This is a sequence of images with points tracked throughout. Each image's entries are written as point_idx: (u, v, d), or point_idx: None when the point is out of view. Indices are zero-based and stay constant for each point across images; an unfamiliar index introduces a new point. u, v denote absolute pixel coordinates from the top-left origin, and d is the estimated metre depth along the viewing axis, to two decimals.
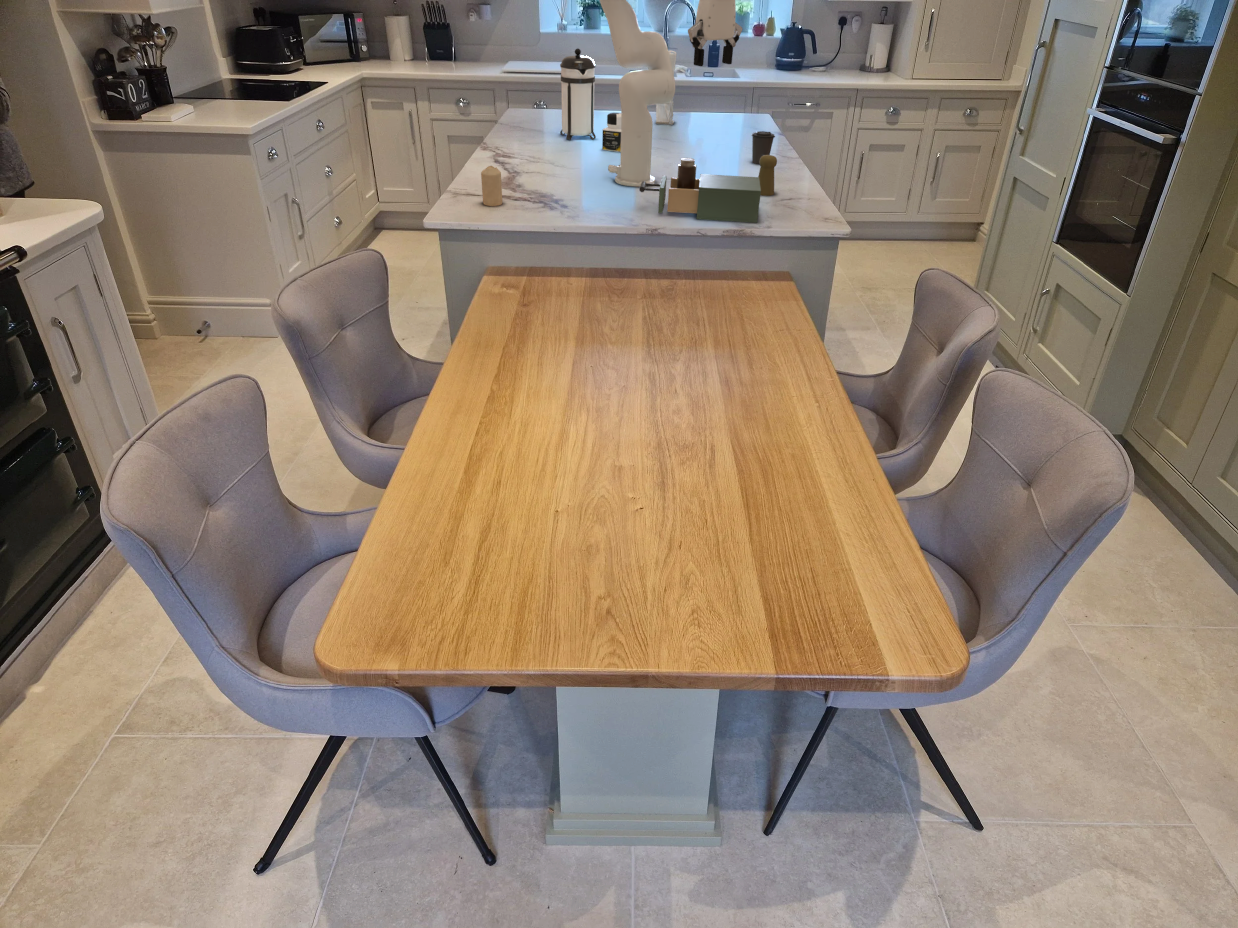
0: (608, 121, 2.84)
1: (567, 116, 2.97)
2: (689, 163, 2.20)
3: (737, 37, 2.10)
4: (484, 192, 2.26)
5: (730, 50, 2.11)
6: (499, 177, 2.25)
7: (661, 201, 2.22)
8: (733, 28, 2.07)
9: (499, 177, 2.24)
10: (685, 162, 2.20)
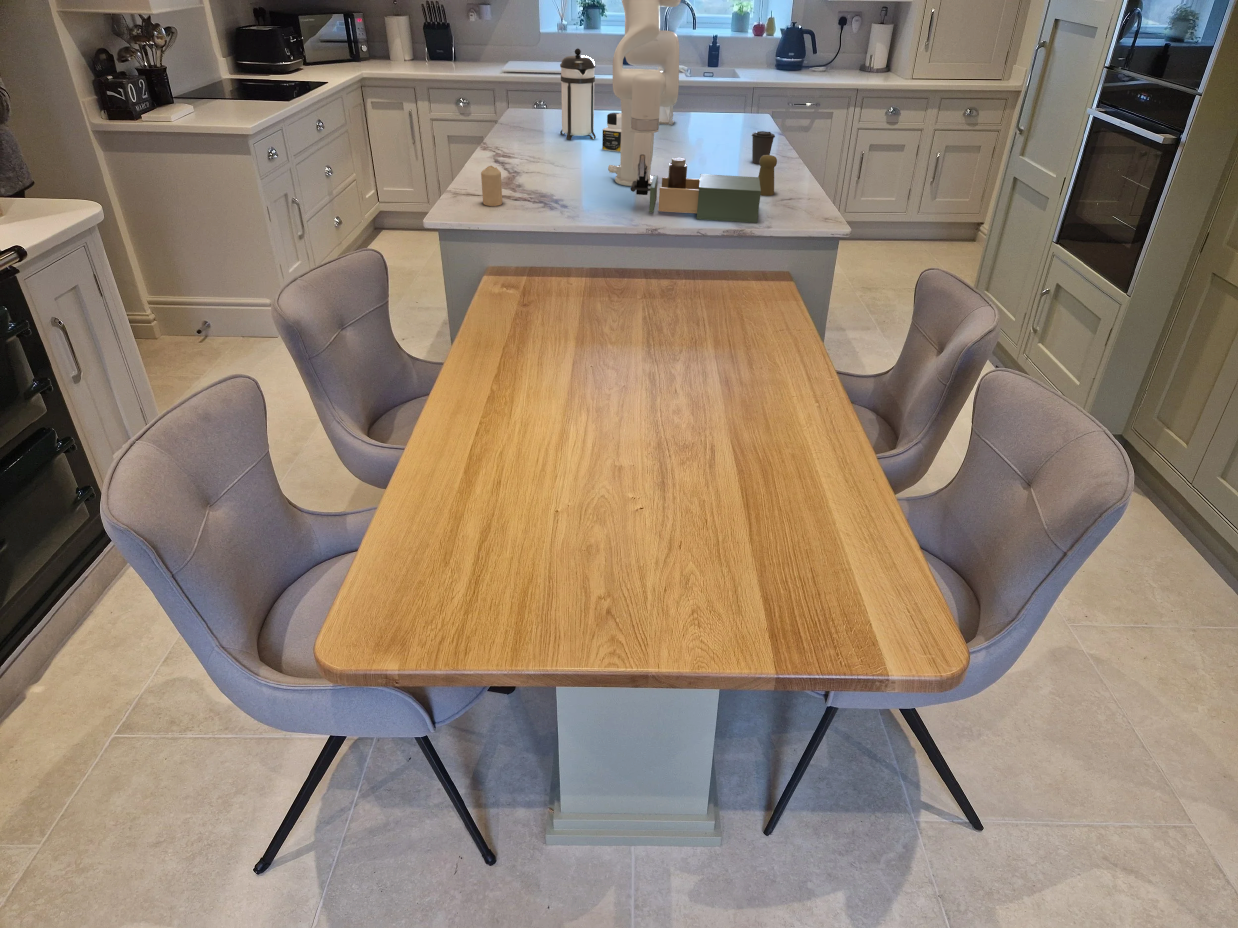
0: (608, 121, 2.84)
1: (567, 116, 2.97)
2: (680, 163, 2.20)
3: None
4: (484, 192, 2.26)
5: None
6: (499, 177, 2.25)
7: (652, 200, 2.22)
8: None
9: (499, 177, 2.24)
10: (676, 161, 2.20)
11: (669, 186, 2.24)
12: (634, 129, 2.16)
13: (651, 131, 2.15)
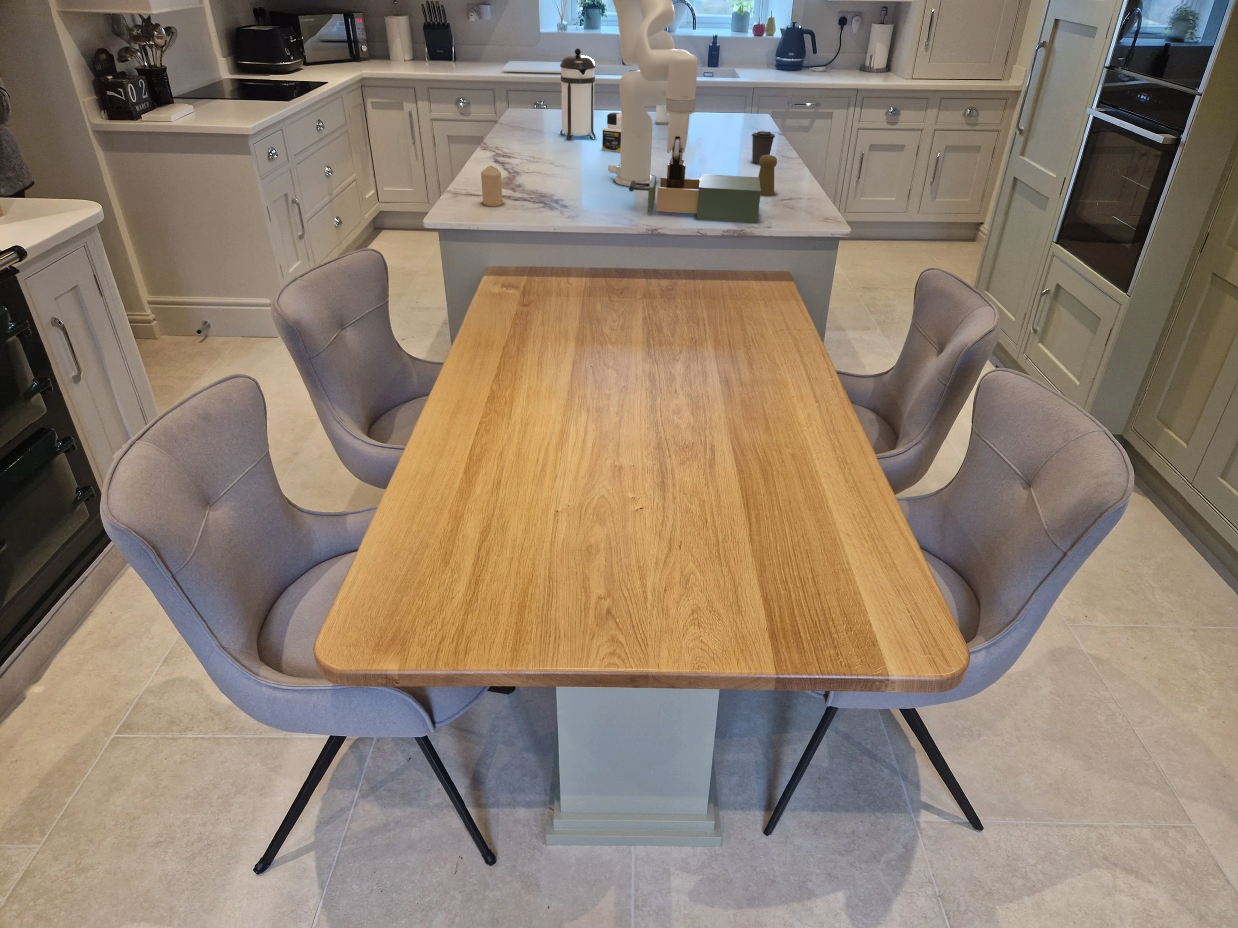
0: (608, 121, 2.84)
1: (567, 116, 2.97)
2: None
3: None
4: (484, 192, 2.26)
5: None
6: (499, 177, 2.25)
7: (650, 200, 2.22)
8: None
9: (499, 177, 2.24)
10: None
11: (667, 186, 2.24)
12: (669, 110, 2.13)
13: (687, 112, 2.12)
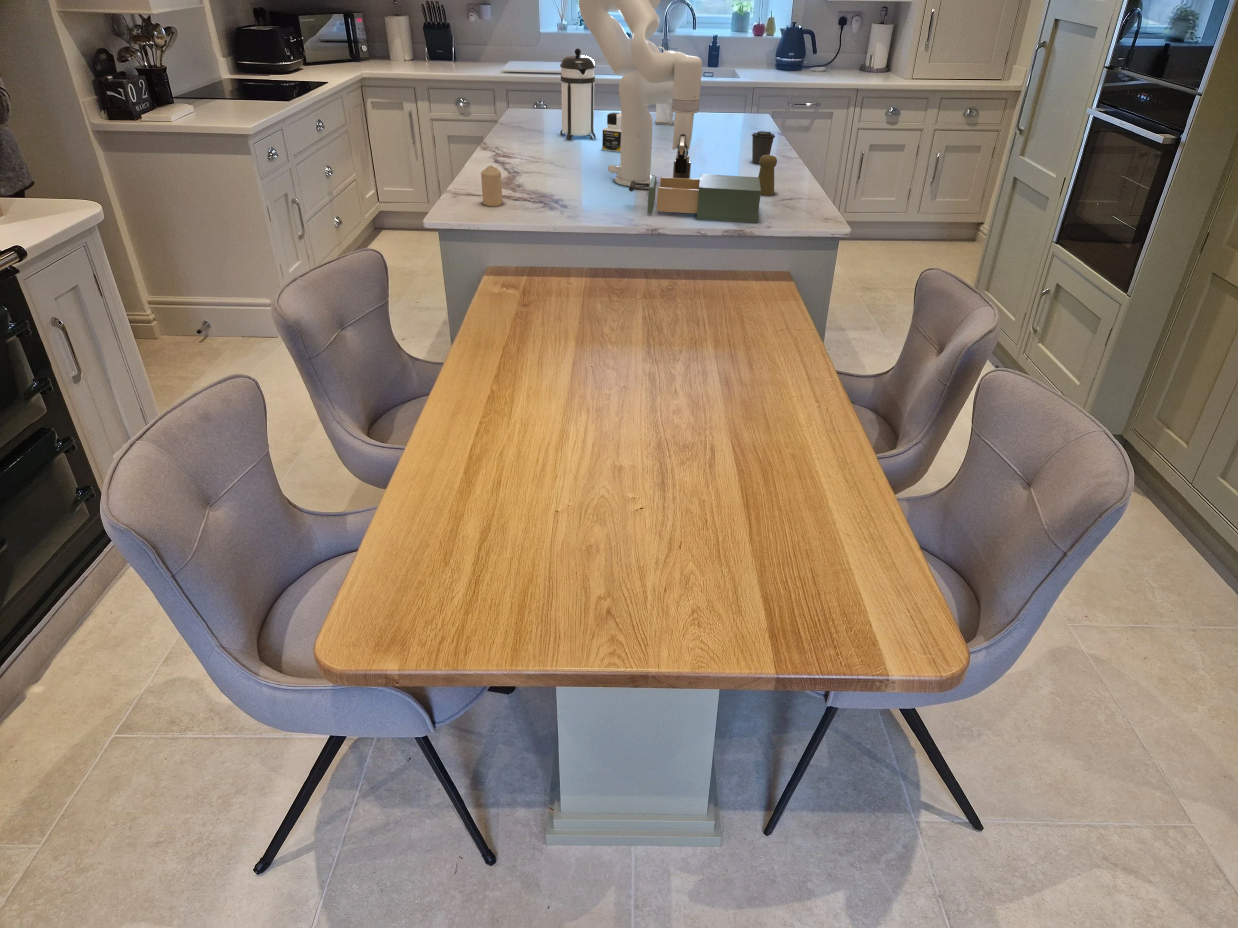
0: (608, 121, 2.84)
1: (567, 116, 2.97)
2: None
3: None
4: (484, 192, 2.26)
5: (687, 153, 2.37)
6: (499, 177, 2.25)
7: (650, 200, 2.22)
8: None
9: (499, 177, 2.24)
10: None
11: None
12: (675, 110, 2.24)
13: (692, 112, 2.24)
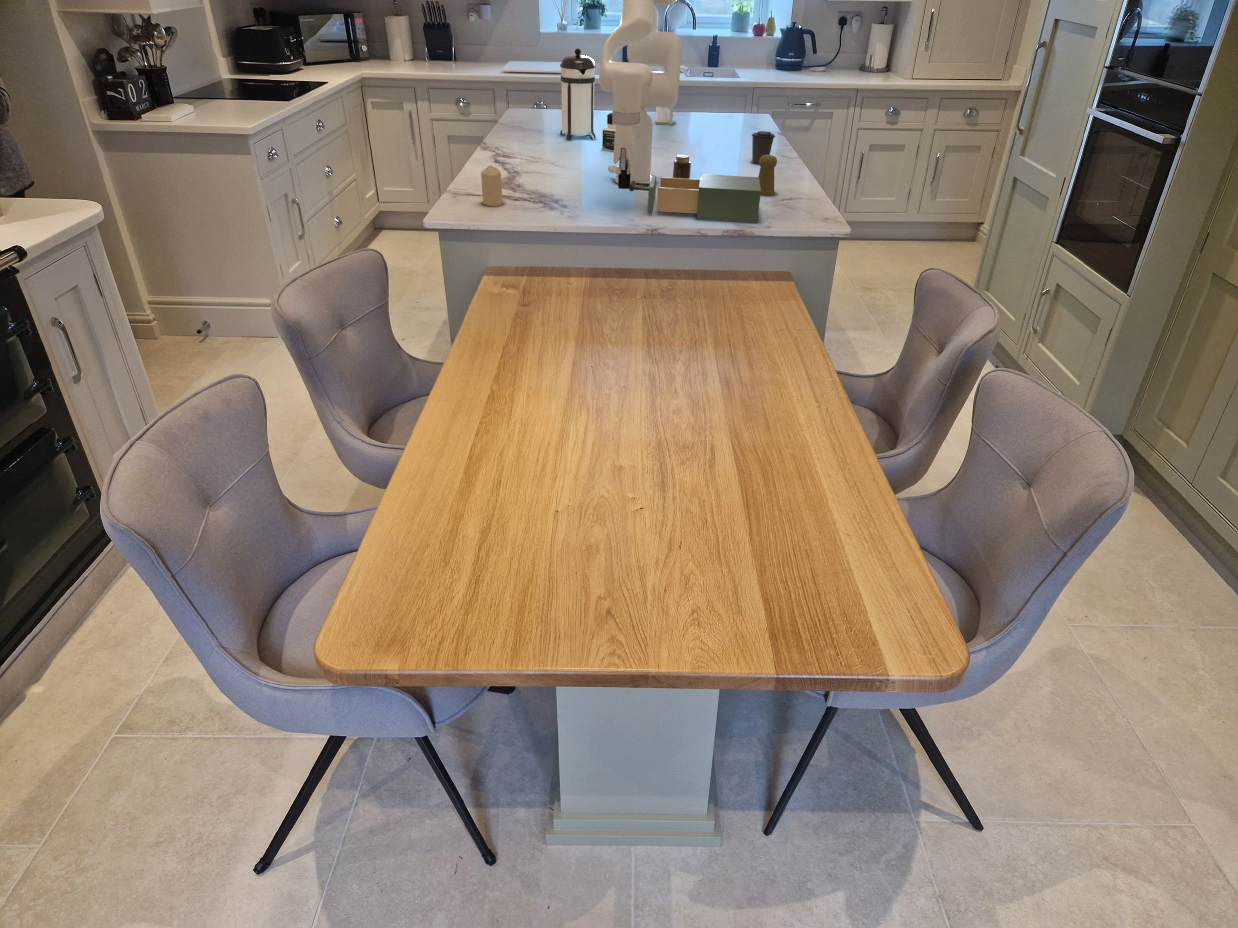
0: (608, 121, 2.84)
1: (567, 116, 2.97)
2: (684, 160, 2.32)
3: None
4: (484, 192, 2.26)
5: None
6: (499, 177, 2.25)
7: (650, 200, 2.22)
8: None
9: (499, 177, 2.24)
10: (680, 158, 2.32)
11: None
12: (615, 122, 2.16)
13: (632, 124, 2.15)
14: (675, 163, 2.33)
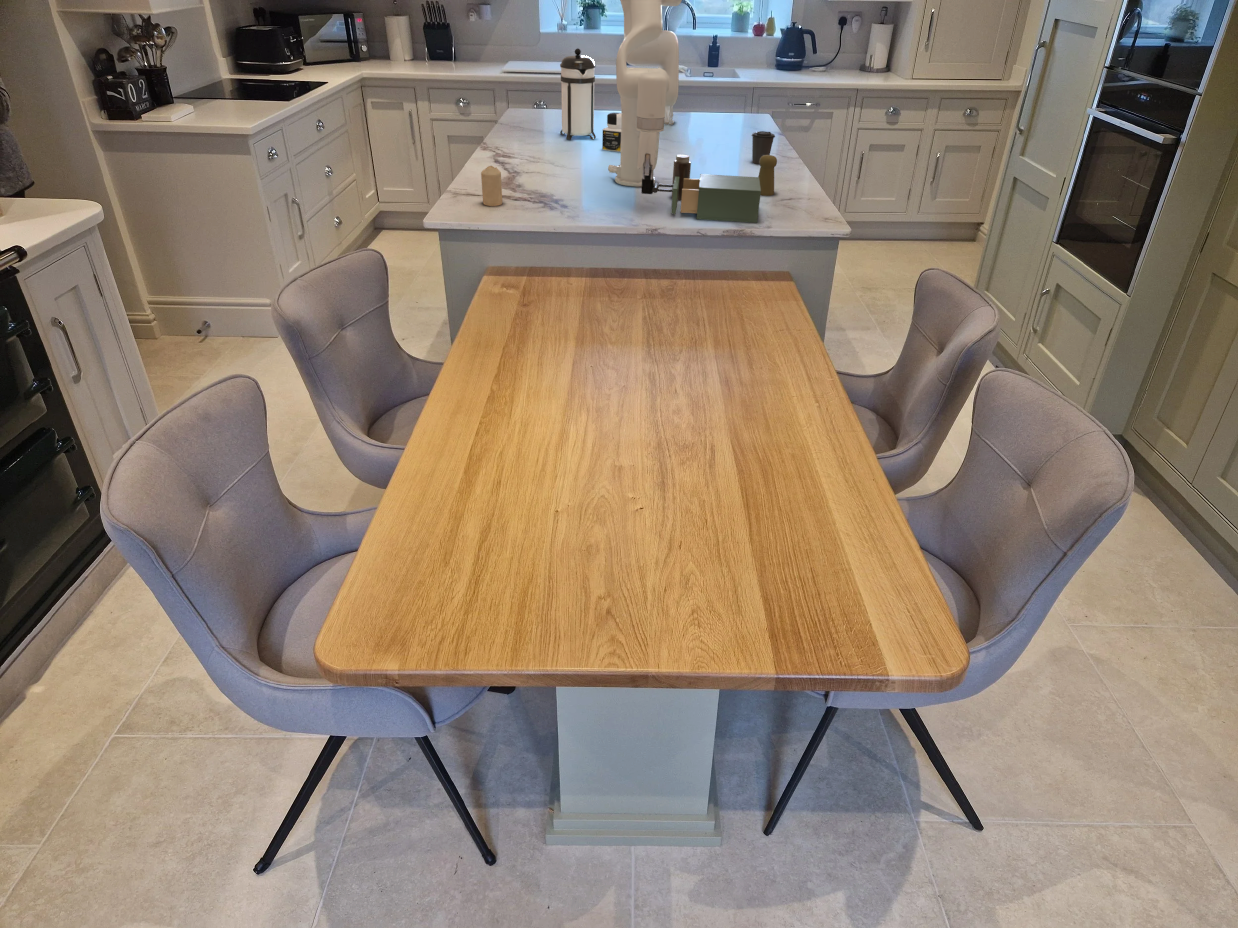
0: (608, 121, 2.84)
1: (567, 116, 2.97)
2: (684, 160, 2.32)
3: None
4: (484, 192, 2.26)
5: None
6: (499, 177, 2.25)
7: (674, 202, 2.21)
8: None
9: (499, 177, 2.24)
10: (680, 158, 2.32)
11: None
12: (639, 128, 2.16)
13: (656, 130, 2.15)
14: (675, 163, 2.33)
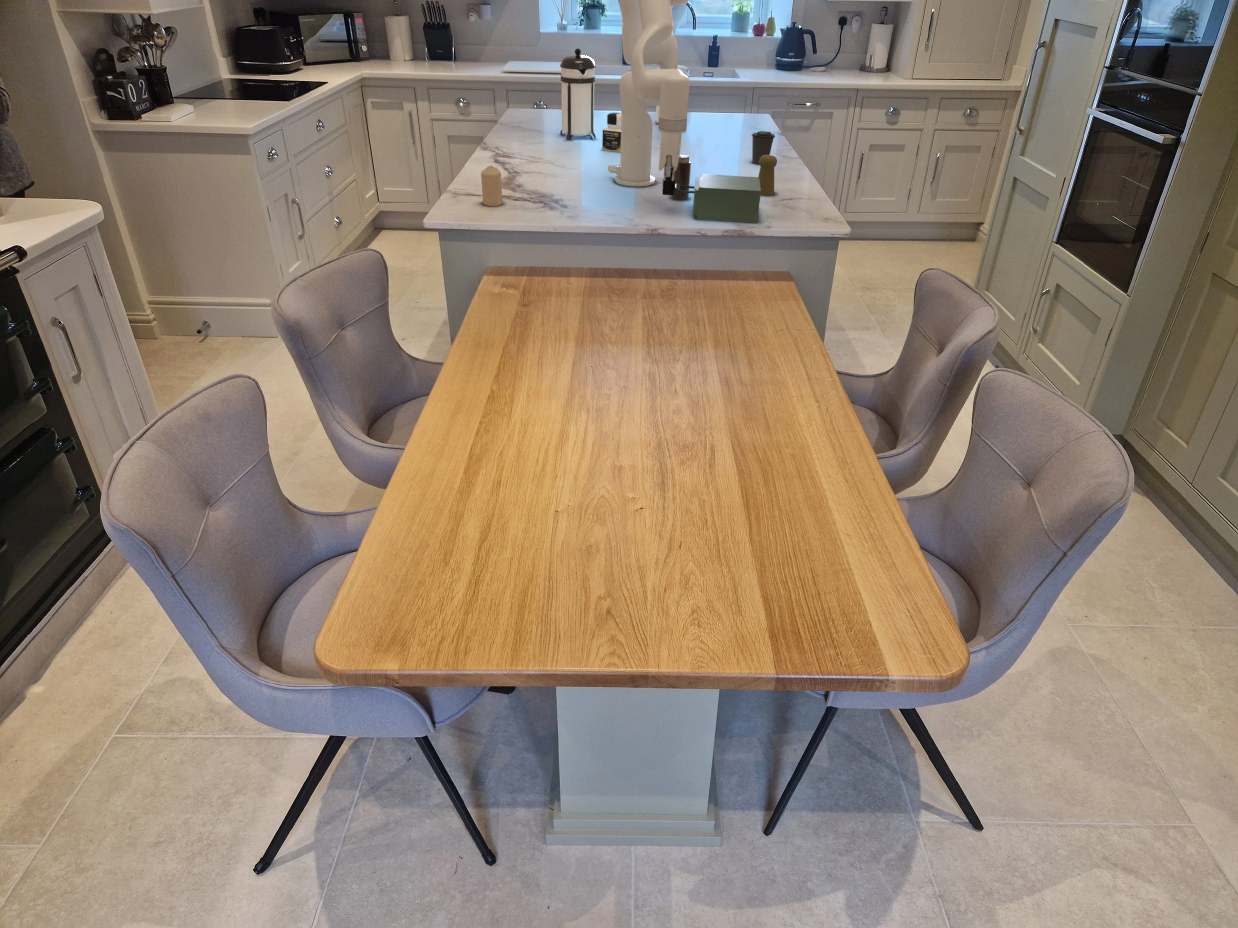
0: (608, 121, 2.84)
1: (567, 116, 2.97)
2: (684, 160, 2.32)
3: None
4: (484, 192, 2.26)
5: None
6: (499, 177, 2.25)
7: (696, 203, 2.21)
8: None
9: (499, 177, 2.24)
10: (680, 158, 2.32)
11: None
12: (661, 129, 2.15)
13: (678, 132, 2.15)
14: None
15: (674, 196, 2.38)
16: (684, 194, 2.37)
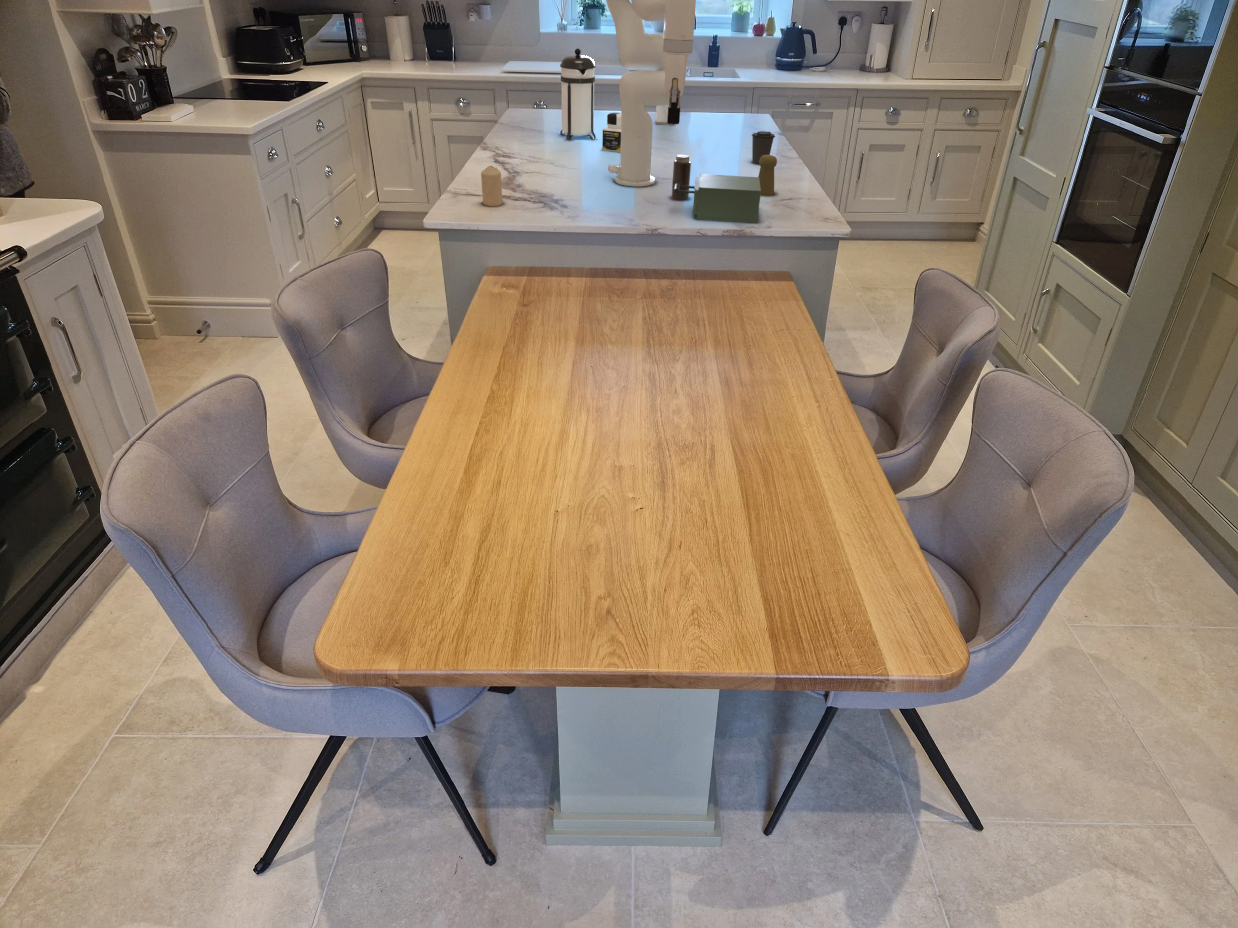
0: (608, 121, 2.84)
1: (567, 116, 2.97)
2: (684, 160, 2.32)
3: None
4: (484, 192, 2.26)
5: None
6: (499, 177, 2.25)
7: (696, 203, 2.21)
8: None
9: (499, 177, 2.24)
10: (680, 158, 2.32)
11: (674, 182, 2.36)
12: (667, 51, 2.05)
13: (685, 53, 2.04)
14: (675, 163, 2.33)
15: (674, 196, 2.38)
16: (684, 194, 2.37)
